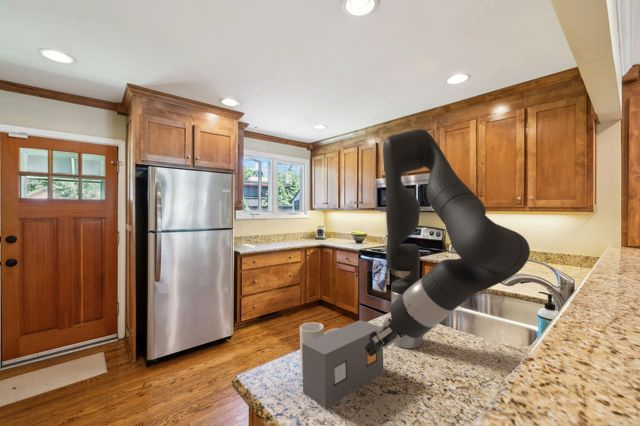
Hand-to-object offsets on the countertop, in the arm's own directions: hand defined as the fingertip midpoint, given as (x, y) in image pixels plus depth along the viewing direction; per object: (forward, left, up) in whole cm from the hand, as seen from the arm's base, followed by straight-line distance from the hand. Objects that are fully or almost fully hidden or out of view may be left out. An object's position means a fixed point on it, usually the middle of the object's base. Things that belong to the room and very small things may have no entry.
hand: (369, 351), depth 60 cm
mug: (+2, -25, -14) cm, 29 cm away
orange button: (-9, -13, -10) cm, 19 cm away
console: (-3, -14, -14) cm, 20 cm away
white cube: (+3, -10, -10) cm, 14 cm away
